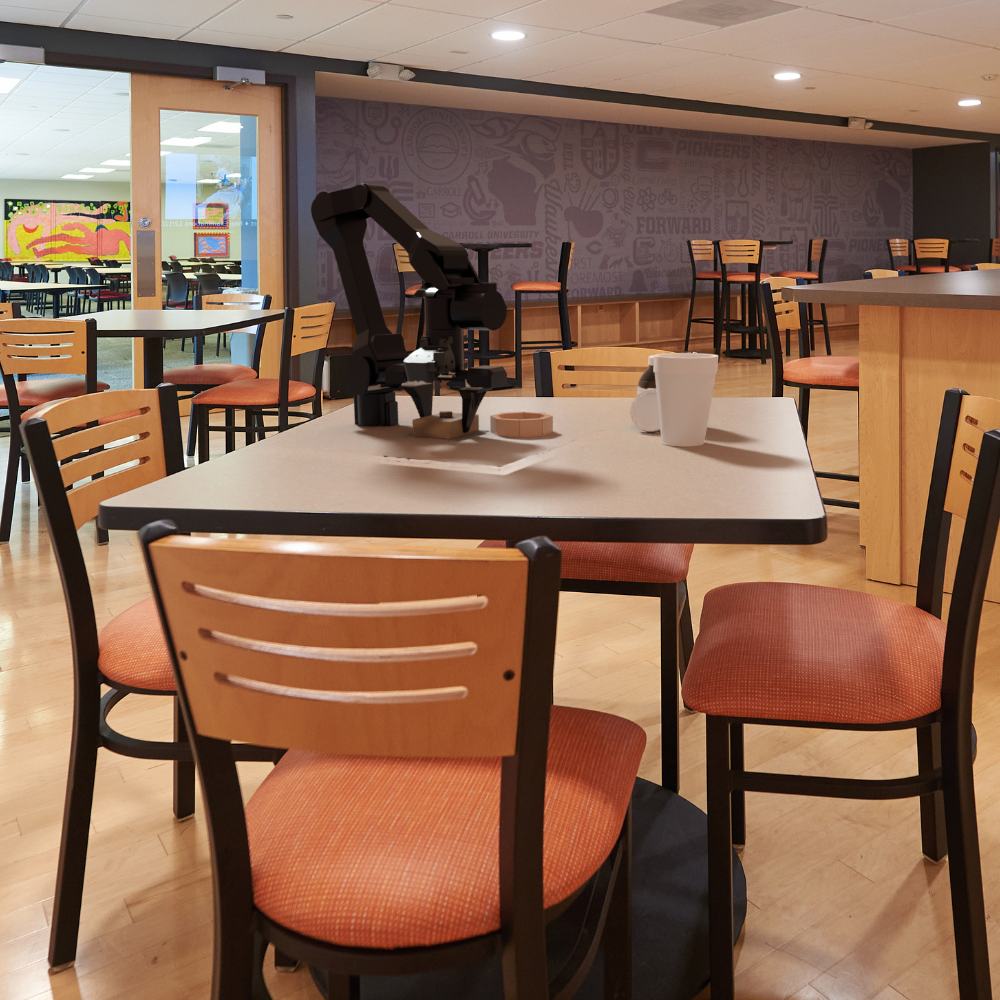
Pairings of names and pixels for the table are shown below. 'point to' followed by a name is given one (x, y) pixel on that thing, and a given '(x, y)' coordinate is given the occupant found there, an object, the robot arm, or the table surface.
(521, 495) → the table surface
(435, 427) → the lid
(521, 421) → the bowl
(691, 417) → the foam cup
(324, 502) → the table surface
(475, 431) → the mat
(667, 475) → the table surface
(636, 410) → the spread jar
